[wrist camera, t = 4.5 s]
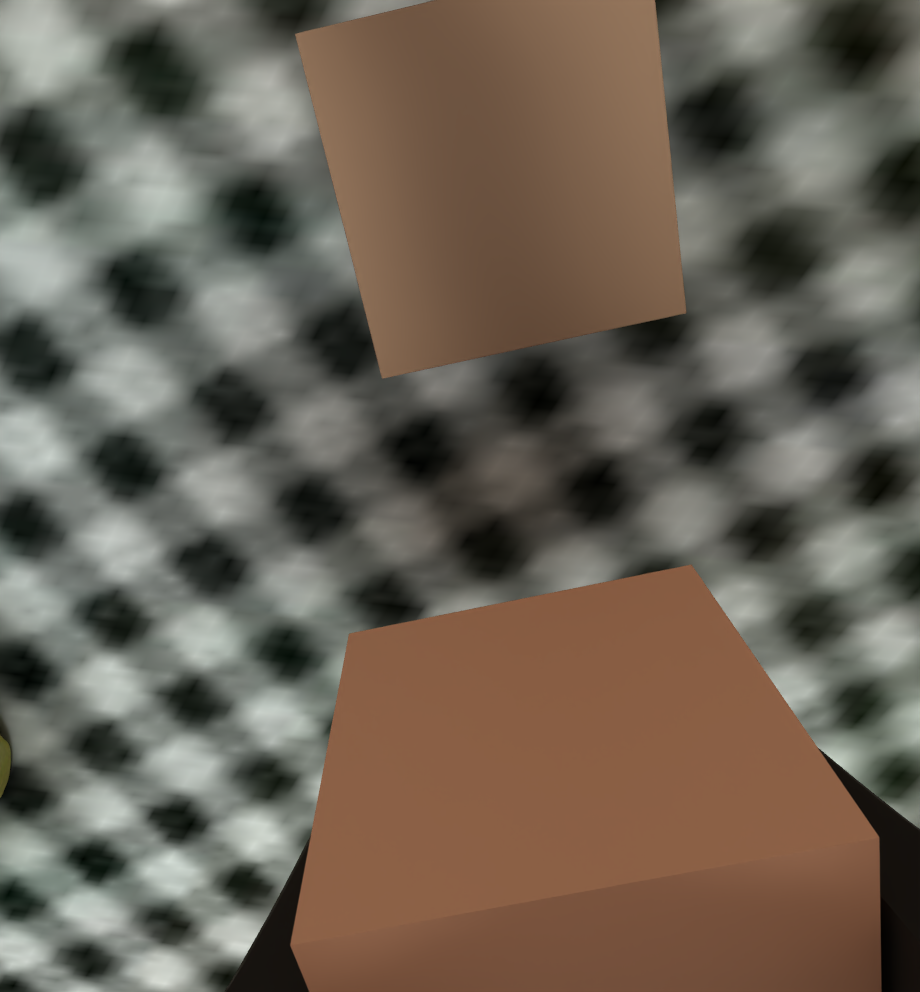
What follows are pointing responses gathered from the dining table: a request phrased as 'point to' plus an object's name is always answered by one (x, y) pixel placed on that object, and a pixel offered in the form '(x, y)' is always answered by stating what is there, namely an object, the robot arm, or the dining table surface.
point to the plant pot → (4, 763)
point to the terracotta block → (581, 810)
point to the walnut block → (499, 172)
